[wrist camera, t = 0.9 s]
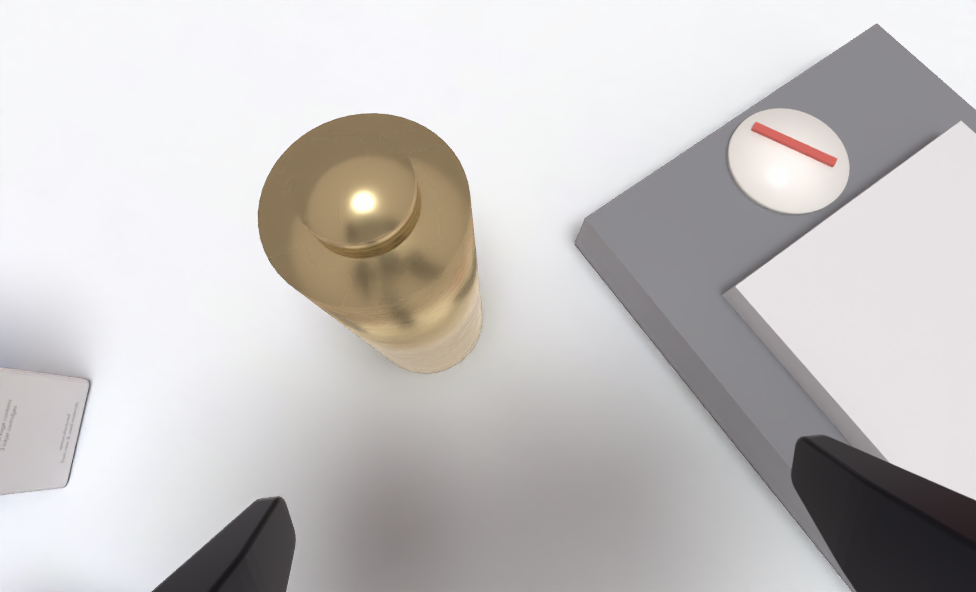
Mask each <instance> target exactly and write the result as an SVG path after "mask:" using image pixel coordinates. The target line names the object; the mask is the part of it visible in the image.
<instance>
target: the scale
mask: <svg viewBox="0 0 976 592" xmlns="http://www.w3.org/2000/svg"><path fill="white" fill-rule="evenodd" d="M575 245H576V246H577V248H578V249H579V250H580V251H581V253H582V254H583V255H584V256H585V258H586V259H587V260H588V261H589V263H590V264H591V265H592V266H593V268H594V269H595V270H596V271H597V273H598V274H599V275H600V276H601V278H602V279H603V280H604V281H605V283H606V284H607V285H608V286H609V288H610V289H611V290H612V291H613V293H614V294H615V295H616V296H617V298H618V299H619V300H620V301H621V303H622V304H623V305H624V306H625V308H626V309H627V310H628V311H629V313H630V314H631V315H632V316H633V318H634V319H635V320H636V321H637V323H638V324H639V325H640V326H641V328H642V329H643V330H644V331H645V333H646V334H647V335H648V336H649V338H650V339H651V340H652V341H653V343H654V344H655V345H656V346H657V348H658V349H659V350H660V351H661V353H662V354H663V355H664V356H665V358H666V359H667V360H668V361H669V363H670V364H671V365H672V366H673V368H674V369H675V370H676V371H677V373H678V374H679V375H680V376H681V378H682V379H683V380H684V381H685V383H686V384H687V385H688V386H689V388H690V389H691V390H692V391H693V393H694V394H695V395H696V396H697V398H698V399H699V400H700V401H701V402H702V404H703V405H704V406H705V407H706V409H707V410H708V411H709V412H710V414H711V415H712V416H713V417H714V419H715V420H716V421H717V422H718V424H719V425H720V426H721V427H722V429H723V430H724V431H725V432H726V434H727V435H728V436H729V437H730V439H731V440H732V441H733V442H734V444H735V445H736V446H737V447H738V449H739V450H740V451H741V452H742V454H743V455H744V456H745V457H746V459H747V460H748V461H749V462H750V464H751V465H752V466H753V467H754V469H755V470H756V471H757V472H758V474H759V475H760V476H761V477H762V479H763V480H764V481H765V482H766V484H767V485H768V486H769V487H770V489H771V490H772V491H773V492H774V494H775V495H776V496H777V497H778V499H779V500H780V501H781V502H782V504H783V505H784V506H785V507H786V509H787V510H788V511H789V512H790V514H791V515H792V516H793V517H794V519H795V520H796V521H797V522H798V524H799V525H800V526H801V527H802V529H803V530H804V531H805V532H806V534H807V535H808V536H809V537H810V539H811V540H812V541H813V542H814V544H815V545H816V546H817V547H818V549H819V550H820V551H821V552H822V554H823V555H824V556H825V557H826V559H827V560H828V561H829V562H830V564H831V565H832V566H833V567H834V569H835V570H836V571H837V572H838V574H839V575H840V576H841V577H842V579H843V580H844V581H845V582H846V584H847V585H848V586H849V587H850V589H851V590H852V591H853V592H856V591H855V589H854V588H853V586H852V585H851V583H850V582H849V580H848V579H847V577H846V576H845V574H844V573H843V571H842V570H841V568H840V567H839V565H838V563H837V562H836V560H835V558H834V557H833V555H832V553H831V552H830V550H829V548H828V546H827V545H826V543H825V541H824V539H823V538H822V536H821V534H820V532H819V531H818V529H817V527H816V525H815V524H814V522H813V520H812V518H811V517H810V515H809V513H808V511H807V510H806V508H805V506H804V505H803V503H802V501H801V499H800V498H799V496H798V494H797V492H796V491H795V489H794V487H793V484H792V481H791V468H792V461H793V455H794V449H795V443H796V441H797V439H798V438H799V437H802V436H808V435H817V434H823V435H827V436H829V437H831V438H834V439H836V440H838V441H841V442H843V443H845V444H848V445H850V446H852V447H854V448H857V449H859V450H861V451H864V452H866V453H868V454H871V455H873V456H875V457H877V458H880V459H882V460H884V461H887V462H889V463H891V464H894V465H896V466H898V467H900V468H903V469H905V470H907V471H910V472H912V473H914V474H917V475H919V476H921V477H924V478H926V479H928V480H930V481H933V482H935V483H937V484H940V485H942V486H944V487H947V488H949V489H951V490H953V491H956V492H958V493H960V494H963V495H965V496H967V497H970V498H972V499H974V500H976V110H975V109H974V108H973V107H971V106H970V105H969V104H968V103H967V102H966V101H965V100H964V99H962V98H961V97H960V96H959V95H958V94H957V93H956V92H954V91H953V90H952V89H951V88H950V87H949V86H948V85H946V84H945V83H944V82H943V81H942V80H941V79H940V78H938V77H937V76H936V75H935V74H934V73H933V72H932V71H931V70H929V69H928V68H927V67H926V66H925V65H924V64H923V63H921V62H920V61H919V60H918V59H917V58H916V57H915V56H913V55H912V54H911V53H910V52H909V51H908V50H907V49H905V48H904V47H903V46H902V45H901V44H900V43H899V42H898V41H896V40H895V39H894V38H893V37H892V36H891V35H890V34H888V33H887V32H886V31H885V30H884V29H883V28H882V27H880V26H879V25H878V24H875V25H874V26H872V27H871V28H869V29H868V30H866V31H865V32H863V33H862V34H860V35H859V36H857V37H856V38H854V39H853V40H851V41H850V42H848V43H847V44H845V45H844V46H842V47H841V48H839V49H838V50H836V51H835V52H833V53H832V54H830V55H829V56H827V57H826V58H824V59H823V60H821V61H820V62H818V63H817V64H815V65H814V66H812V67H811V68H809V69H808V70H806V71H805V72H803V73H802V74H800V75H799V76H797V77H796V78H794V79H793V80H791V81H790V82H788V83H787V84H785V85H784V86H782V87H781V88H779V89H778V90H776V91H775V92H773V93H772V94H770V95H769V96H767V97H766V98H764V99H763V100H761V101H760V102H758V103H757V104H755V105H754V106H752V107H751V108H749V109H748V110H746V111H745V112H743V113H742V114H740V115H739V116H737V117H736V118H734V119H733V120H731V121H730V122H728V123H727V124H725V125H724V126H722V127H721V128H719V129H718V130H716V131H715V132H713V133H712V134H710V135H709V136H707V137H706V138H704V139H703V140H701V141H700V142H698V143H697V144H695V145H694V146H692V147H691V148H689V149H688V150H687V151H685V152H684V153H682V154H681V155H679V156H678V157H676V158H675V159H673V160H672V161H670V162H669V163H667V164H666V165H664V166H663V167H661V168H660V169H658V170H657V171H655V172H654V173H652V174H651V175H649V176H648V177H646V178H645V179H643V180H642V181H640V182H639V183H637V184H636V185H634V186H633V187H631V188H630V189H628V190H627V191H625V192H624V193H622V194H621V195H619V196H618V197H616V198H615V199H613V200H612V201H610V202H609V203H607V204H606V205H604V206H603V207H601V208H600V209H598V210H597V211H595V212H594V213H592V214H591V215H589V216H588V217H586V218H585V220H584V222H583V225H582V227H581V229H580V232H579V234H578V237H577V239H576V242H575Z"/></svg>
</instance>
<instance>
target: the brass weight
mask: <svg viewBox="0 0 976 592" xmlns="http://www.w3.org/2000/svg"><path fill="white" fill-rule="evenodd" d="M258 228H259V234H260V239H261V242H262V245H263V248H264V251H265V253H266V255H267V257H268V259H269V261H270V263H271V264H272V266H273V267H274V268H275V270H276V271H277V273H278V274H279V275H280V276H281V277H282V278H283V279H284V280H285V281H286V282H287V283H288V284H290V285H291V286H292V287H293V288H295V289H296V290H297V291H299V292H300V293H301V294H303V295H304V296H305V297H307V298H308V299H309V300H311V301H312V302H313V303H315V304H316V305H317V306H319V307H320V308H321V309H323V310H324V311H325V312H327V313H328V314H329V315H331V316H332V317H333V318H335V319H336V320H337V321H339V322H340V323H341V324H343V325H344V326H345V327H347V328H348V329H349V330H351V331H352V332H353V333H355V334H356V335H357V336H359V337H360V338H361V339H363V340H364V341H365V342H367V343H368V344H369V345H371V346H372V347H373V348H375V349H376V350H377V351H379V352H380V353H381V354H383V355H384V356H385V357H387V358H388V359H389V360H391V361H392V362H393V363H395V364H396V365H398V366H399V367H401V368H403V369H406V370H408V371H412V372H416V373H435V372H440V371H443V370H446V369H448V368H451V367H453V366H454V365H456V364H458V363H459V362H460V361H462V360H463V359H464V358H465V357H466V356H467V355H468V354H469V353H470V352H471V350H472V349H473V348H474V346H475V344H476V342H477V340H478V338H479V335H480V332H481V328H482V307H481V297H480V287H479V277H478V267H477V257H476V248H475V238H474V228H473V218H472V208H471V198H470V191H469V185H468V181H467V178H466V175H465V172H464V169H463V167H462V165H461V163H460V161H459V160H458V158H457V156H456V155H455V153H454V152H453V151H452V149H451V148H450V147H449V146H448V145H447V144H446V143H445V142H444V141H443V140H442V139H441V138H440V137H439V136H437V135H436V134H435V133H434V132H432V131H431V130H429V129H427V128H426V127H424V126H422V125H420V124H418V123H416V122H414V121H411V120H408V119H405V118H402V117H398V116H393V115H388V114H377V113H371V114H357V115H350V116H346V117H342V118H338V119H335V120H332V121H329V122H327V123H324V124H322V125H320V126H318V127H316V128H314V129H312V130H311V131H309V132H308V133H306V134H305V135H303V136H302V137H300V138H299V139H298V140H297V141H295V142H294V143H293V144H292V145H291V146H290V147H289V148H288V149H287V150H286V151H285V152H284V153H283V154H282V155H281V157H280V158H279V159H278V161H277V162H276V163H275V165H274V166H273V168H272V170H271V171H270V173H269V175H268V177H267V179H266V182H265V184H264V186H263V189H262V193H261V197H260V201H259V209H258Z"/></svg>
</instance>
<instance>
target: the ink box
mask: <svg viewBox="0 0 976 592" xmlns="http://www.w3.org/2000/svg"><path fill="white" fill-rule="evenodd" d="M88 389H89V381H88V380H86V379H83V378H76V377H69V376H61V375H54V374H47V373H40V372H32V371H25V370H18V369H11V368H4V367H0V495H6V494H15V493H24V492H32V491H41V490H49V489H58V488H63V487H65V486H66V484H67V481H68V477H69V472H70V468H71V464H72V459H73V455H74V450H75V446H76V441H77V437H78V432H79V428H80V423H81V419H82V415H83V410H84V406H85V402H86V397H87V393H88Z"/></svg>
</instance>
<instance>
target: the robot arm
mask: <svg viewBox="0 0 976 592" xmlns="http://www.w3.org/2000/svg"><path fill="white" fill-rule="evenodd" d="M791 481H792V484H793V487H794V489H795V491H796V492H797V494H798V496H799V498H800V499H801V501H802V503H803V505H804V506H805V508H806V510H807V511H808V513H809V515H810V517H811V518H812V520H813V522H814V524H815V525H816V527H817V529H818V531H819V532H820V534H821V536H822V538H823V539H824V541H825V543H826V545H827V546H828V548H829V550H830V552H831V553H832V555H833V557H834V558H835V560H836V562H837V563H838V565H839V567H840V568H841V570H842V571H843V573H844V574H845V576H846V577H847V579H848V580H849V582H850V583H851V585H852V586H853V588H854V589H855V591H856V592H976V500H974V499H972V498H970V497H967V496H965V495H963V494H960V493H958V492H956V491H953V490H951V489H949V488H947V487H944V486H942V485H940V484H937V483H935V482H933V481H930V480H928V479H926V478H924V477H921V476H919V475H917V474H914V473H912V472H910V471H907V470H905V469H903V468H900V467H898V466H896V465H894V464H891V463H889V462H887V461H884V460H882V459H880V458H877V457H875V456H873V455H871V454H868V453H866V452H864V451H861V450H859V449H857V448H854V447H852V446H850V445H848V444H845V443H843V442H841V441H838V440H836V439H834V438H831V437H829V436H827V435H823V434H817V435H808V436H802V437H799V438H798V439H797V441H796V443H795V449H794V455H793V461H792V468H791ZM295 541H296V537H295V530H294V527H293V524H292V521H291V517H290V514H289V511H288V508H287V505H286V502H285V500H284V499H283V498H282V497H279V496H277V497H269V498H261V499H258V500H256V501H255V502H253V503H252V504H251V505H250V506H249V507H248V508H246V509H245V510H244V511H243V512H242V513H241V514H240V515H238V516H237V517H236V518H235V519H234V520H233V521H232V522H230V523H229V524H228V525H227V526H226V527H225V528H224V529H223V530H221V531H220V532H219V533H218V534H217V535H216V536H215V537H213V538H212V539H211V540H210V541H209V542H208V543H207V544H205V545H204V546H203V547H202V548H201V549H200V550H199V551H197V552H196V553H195V554H194V555H193V556H192V557H191V558H189V559H188V560H187V561H186V562H185V563H184V564H183V565H181V566H180V567H179V568H178V569H177V570H176V571H175V572H173V573H172V574H171V575H170V576H169V577H168V578H167V579H166V580H164V581H163V582H162V583H161V584H160V585H159V586H158V587H156V588H155V589H154V590H153V591H152V592H286V589H287V584H288V579H289V574H290V569H291V564H292V559H293V554H294V549H295Z"/></svg>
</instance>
